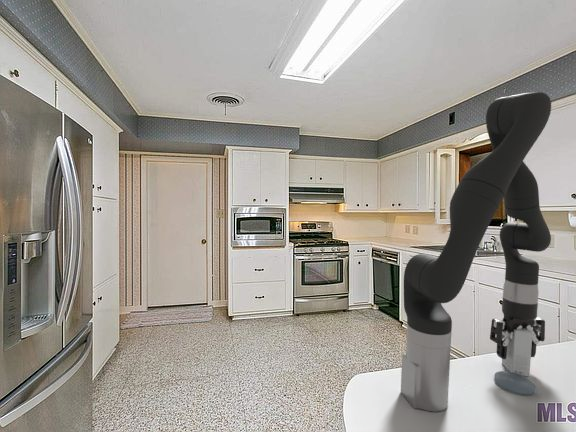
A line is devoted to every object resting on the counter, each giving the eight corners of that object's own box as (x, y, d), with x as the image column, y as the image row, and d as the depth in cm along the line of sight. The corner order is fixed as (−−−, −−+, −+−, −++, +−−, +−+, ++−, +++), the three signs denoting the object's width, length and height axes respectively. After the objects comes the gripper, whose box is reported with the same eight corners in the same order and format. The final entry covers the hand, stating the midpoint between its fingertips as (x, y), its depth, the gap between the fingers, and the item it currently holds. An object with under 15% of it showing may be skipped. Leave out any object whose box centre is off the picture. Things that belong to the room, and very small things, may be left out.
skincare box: (530, 377, 81) (533, 332, 80) (511, 375, 82) (514, 330, 81) (518, 364, 87) (520, 322, 86) (501, 362, 88) (503, 321, 87)
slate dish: (513, 397, 73) (513, 393, 73) (486, 376, 81) (486, 372, 81) (545, 394, 74) (545, 390, 74) (514, 373, 82) (515, 370, 82)
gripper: (507, 304, 78) (503, 366, 80) (557, 301, 80) (552, 362, 82) (484, 294, 86) (481, 351, 87) (530, 292, 88) (526, 348, 89)
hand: (515, 356), depth 84 cm, fingers open, 8 cm apart
